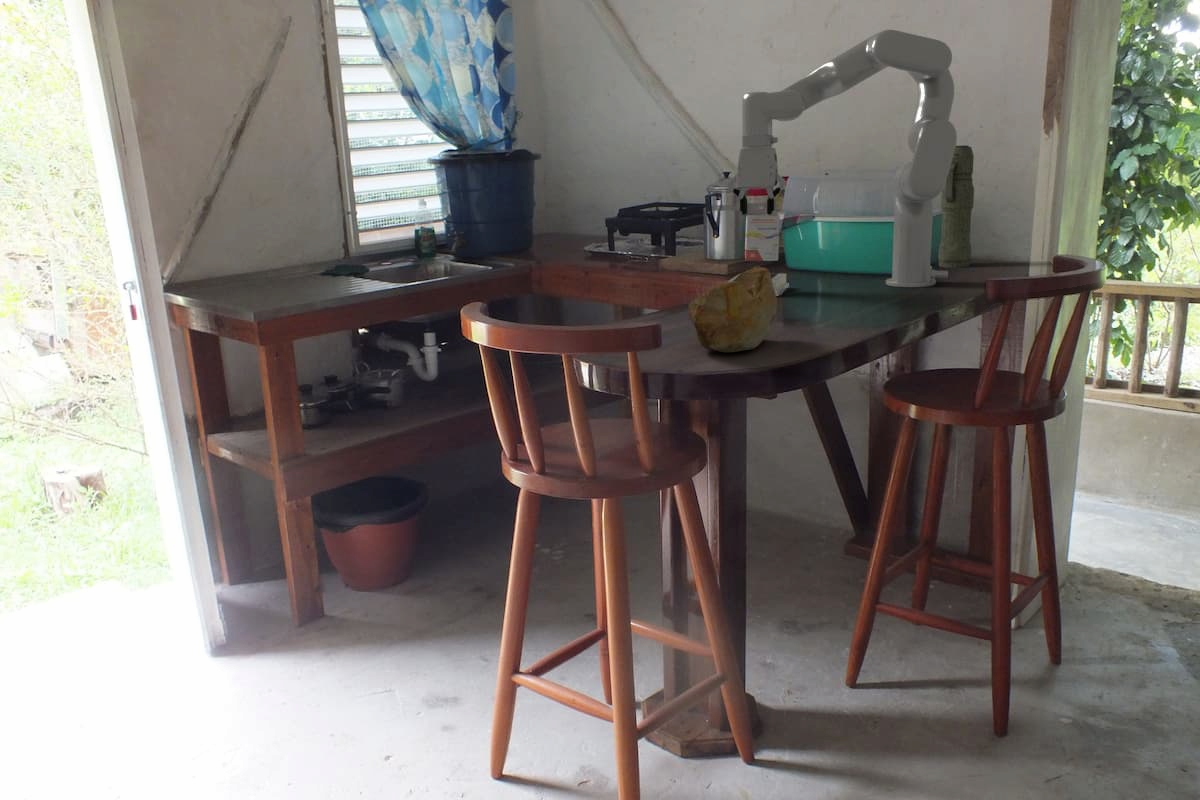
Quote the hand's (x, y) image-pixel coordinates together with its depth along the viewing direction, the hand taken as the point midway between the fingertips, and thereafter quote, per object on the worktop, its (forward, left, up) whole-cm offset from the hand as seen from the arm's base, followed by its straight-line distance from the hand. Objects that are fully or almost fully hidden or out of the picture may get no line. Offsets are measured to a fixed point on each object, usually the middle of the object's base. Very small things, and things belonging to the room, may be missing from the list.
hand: (757, 213), depth 251 cm
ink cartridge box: (-1, -1, -12) cm, 12 cm away
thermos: (-48, -49, -21) cm, 72 cm away
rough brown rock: (-8, +67, -21) cm, 71 cm away
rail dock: (0, 0, -21) cm, 21 cm away
